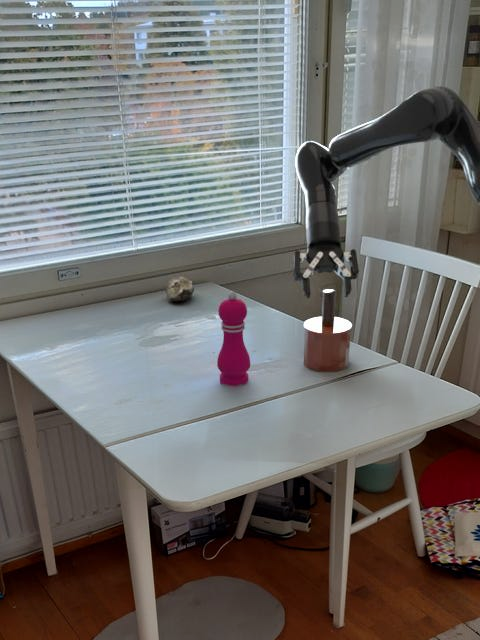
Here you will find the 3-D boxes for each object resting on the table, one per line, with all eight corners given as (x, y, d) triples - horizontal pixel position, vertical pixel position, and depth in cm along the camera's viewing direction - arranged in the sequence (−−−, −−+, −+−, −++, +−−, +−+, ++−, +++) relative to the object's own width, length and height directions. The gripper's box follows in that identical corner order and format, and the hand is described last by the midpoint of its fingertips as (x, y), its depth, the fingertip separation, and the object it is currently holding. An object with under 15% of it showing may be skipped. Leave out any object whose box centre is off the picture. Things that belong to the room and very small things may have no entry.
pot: (347, 355, 184) (350, 319, 179) (348, 372, 176) (351, 336, 171) (304, 354, 185) (305, 319, 180) (303, 371, 177) (304, 335, 172)
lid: (351, 321, 180) (353, 284, 175) (352, 339, 171) (354, 299, 166) (304, 320, 181) (305, 283, 176) (302, 338, 172) (303, 298, 167)
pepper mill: (256, 379, 173) (256, 289, 162) (238, 391, 168) (237, 299, 157) (229, 373, 176) (227, 284, 165) (211, 384, 171) (207, 293, 160)
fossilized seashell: (187, 296, 213) (203, 292, 221) (176, 273, 212) (193, 270, 220) (166, 308, 217) (183, 303, 225) (155, 286, 216) (173, 282, 224)
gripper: (292, 220, 171) (297, 288, 169) (357, 218, 172) (362, 287, 169) (289, 238, 179) (293, 305, 176) (351, 237, 179) (356, 303, 177)
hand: (327, 296), depth 173 cm, fingers open, 8 cm apart
